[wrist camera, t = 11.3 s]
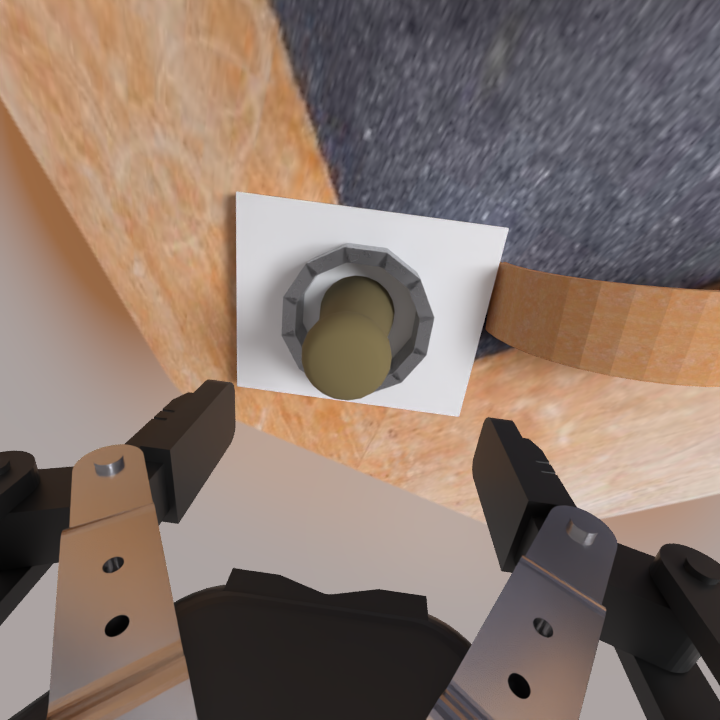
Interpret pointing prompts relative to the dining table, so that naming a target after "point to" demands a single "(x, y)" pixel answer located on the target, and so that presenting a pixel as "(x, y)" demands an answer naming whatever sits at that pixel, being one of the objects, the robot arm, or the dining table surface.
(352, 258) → the steel ring
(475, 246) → the fitting board
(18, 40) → the dining table surface
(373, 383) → the cork
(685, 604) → the robot arm
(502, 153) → the dining table surface
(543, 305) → the arch
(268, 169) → the dining table surface
